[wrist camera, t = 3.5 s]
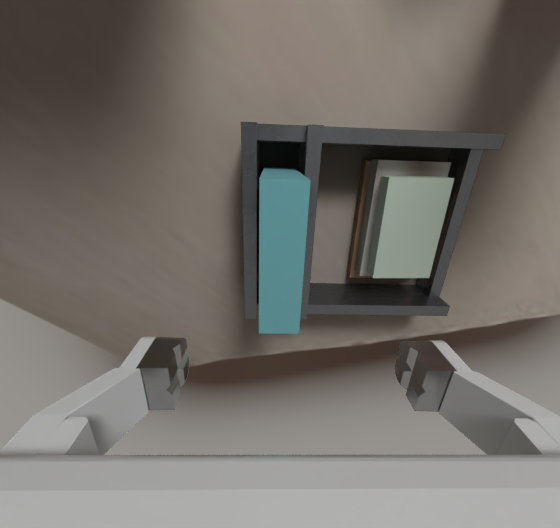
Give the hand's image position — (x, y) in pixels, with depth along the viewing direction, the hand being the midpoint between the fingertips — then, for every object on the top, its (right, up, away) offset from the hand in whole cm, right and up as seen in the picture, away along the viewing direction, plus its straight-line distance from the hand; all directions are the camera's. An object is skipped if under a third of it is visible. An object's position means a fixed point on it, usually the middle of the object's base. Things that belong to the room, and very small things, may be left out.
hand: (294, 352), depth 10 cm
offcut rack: (+7, +8, +20) cm, 23 cm away
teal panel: (-1, +8, +20) cm, 21 cm away
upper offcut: (+12, +7, +17) cm, 22 cm away
